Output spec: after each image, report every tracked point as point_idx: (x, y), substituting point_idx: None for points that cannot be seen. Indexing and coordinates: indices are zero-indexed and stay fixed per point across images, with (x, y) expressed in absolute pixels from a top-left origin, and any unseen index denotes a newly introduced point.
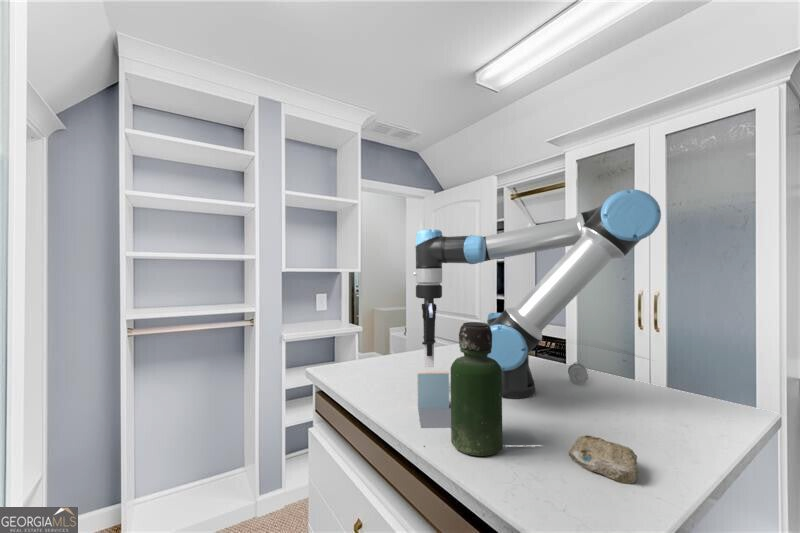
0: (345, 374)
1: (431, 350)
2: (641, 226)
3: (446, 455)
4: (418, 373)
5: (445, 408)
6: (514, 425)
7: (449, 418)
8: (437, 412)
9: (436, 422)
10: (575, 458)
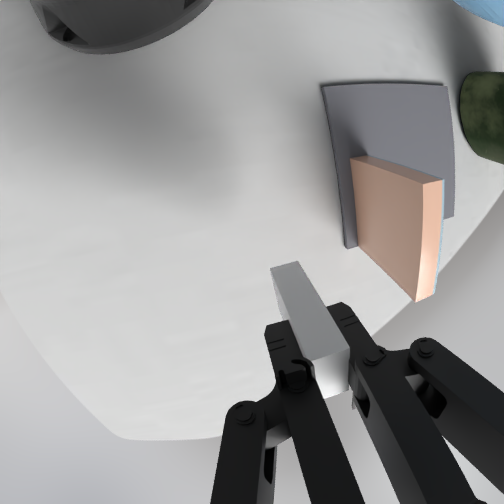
0: (155, 431)
1: (361, 326)
2: None
3: (499, 167)
4: (433, 291)
5: None
6: (412, 13)
7: (422, 155)
8: None
9: None
10: None
